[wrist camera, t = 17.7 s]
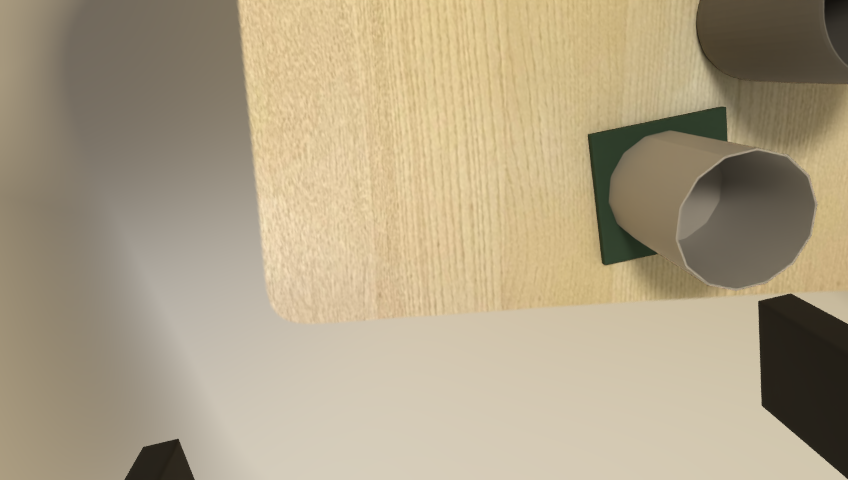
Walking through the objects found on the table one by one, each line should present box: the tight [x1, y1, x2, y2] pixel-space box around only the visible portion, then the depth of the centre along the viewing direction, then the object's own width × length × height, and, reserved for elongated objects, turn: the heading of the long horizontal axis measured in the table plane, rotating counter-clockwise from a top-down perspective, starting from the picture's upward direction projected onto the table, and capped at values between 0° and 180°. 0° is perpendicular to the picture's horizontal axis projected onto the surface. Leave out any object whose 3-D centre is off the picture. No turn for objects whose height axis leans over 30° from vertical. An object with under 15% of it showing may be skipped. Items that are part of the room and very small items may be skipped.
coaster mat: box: [588, 107, 727, 265], centre depth 43 cm, size 10×10×1 cm
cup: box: [609, 130, 817, 291], centre depth 38 cm, size 8×8×10 cm
